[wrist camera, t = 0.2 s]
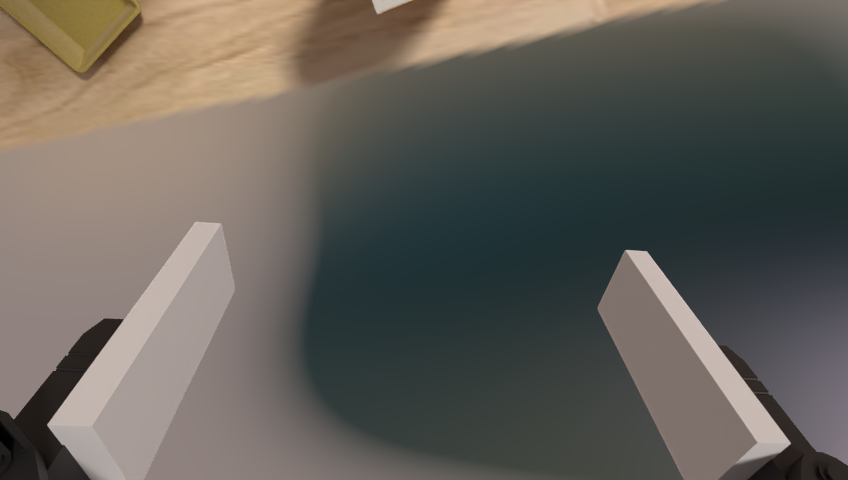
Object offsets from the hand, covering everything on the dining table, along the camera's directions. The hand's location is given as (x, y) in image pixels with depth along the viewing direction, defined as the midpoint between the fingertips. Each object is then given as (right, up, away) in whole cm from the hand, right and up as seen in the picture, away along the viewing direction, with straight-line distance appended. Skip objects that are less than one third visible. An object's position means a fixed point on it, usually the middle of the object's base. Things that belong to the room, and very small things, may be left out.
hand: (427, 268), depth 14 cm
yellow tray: (-28, +21, +19) cm, 39 cm away
